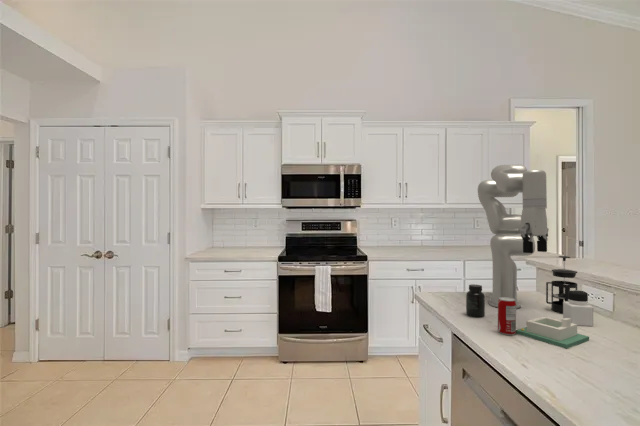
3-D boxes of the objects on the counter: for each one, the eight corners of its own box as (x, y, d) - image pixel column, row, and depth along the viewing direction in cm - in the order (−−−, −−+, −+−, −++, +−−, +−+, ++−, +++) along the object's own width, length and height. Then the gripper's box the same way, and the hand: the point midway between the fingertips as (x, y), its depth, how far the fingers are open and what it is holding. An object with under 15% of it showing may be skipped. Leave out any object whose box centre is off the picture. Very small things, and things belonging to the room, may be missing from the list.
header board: (515, 333, 125) (515, 312, 125) (538, 326, 132) (538, 307, 132) (566, 348, 111) (566, 325, 111) (589, 340, 118) (589, 318, 118)
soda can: (500, 329, 130) (500, 295, 130) (517, 332, 126) (517, 297, 126) (496, 333, 125) (496, 298, 125) (513, 336, 122) (513, 300, 122)
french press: (575, 309, 155) (575, 255, 154) (583, 315, 146) (583, 258, 146) (543, 307, 159) (543, 254, 158) (549, 313, 150) (549, 256, 150)
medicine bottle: (593, 326, 132) (593, 293, 132) (571, 325, 134) (571, 292, 134) (583, 320, 139) (583, 289, 139) (562, 319, 141) (562, 288, 141)
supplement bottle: (472, 312, 152) (472, 283, 151) (488, 316, 146) (488, 285, 146) (462, 314, 148) (462, 285, 148) (478, 318, 142) (478, 288, 142)
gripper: (536, 205, 140) (536, 250, 139) (511, 204, 130) (511, 252, 130) (557, 205, 134) (558, 252, 133) (532, 203, 124) (533, 254, 124)
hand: (535, 252), depth 132 cm, fingers open, 9 cm apart
